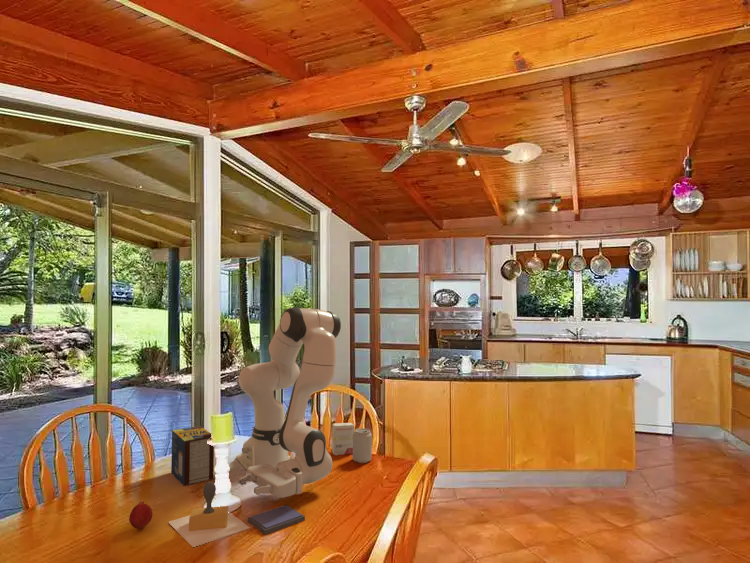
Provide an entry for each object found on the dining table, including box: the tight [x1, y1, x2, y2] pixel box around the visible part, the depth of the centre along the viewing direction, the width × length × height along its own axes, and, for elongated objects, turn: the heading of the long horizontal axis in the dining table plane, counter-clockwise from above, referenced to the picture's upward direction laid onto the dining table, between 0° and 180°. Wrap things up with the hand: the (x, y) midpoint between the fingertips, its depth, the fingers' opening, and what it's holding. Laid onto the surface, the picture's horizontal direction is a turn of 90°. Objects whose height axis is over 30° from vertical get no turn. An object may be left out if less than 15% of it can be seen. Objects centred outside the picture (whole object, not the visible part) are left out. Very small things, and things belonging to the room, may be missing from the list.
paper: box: [167, 512, 250, 548], centre depth 139 cm, size 18×16×1 cm
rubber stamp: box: [189, 481, 229, 531], centre depth 139 cm, size 10×6×12 cm, turn 104°
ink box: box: [331, 422, 355, 456], centre depth 202 cm, size 9×5×12 cm, turn 104°
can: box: [352, 427, 373, 464], centre depth 193 cm, size 8×8×12 cm
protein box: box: [170, 425, 215, 487], centre depth 175 cm, size 10×15×16 cm
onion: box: [128, 499, 154, 531], centre depth 136 cm, size 6×6×8 cm
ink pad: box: [247, 504, 306, 536], centre depth 142 cm, size 10×13×2 cm
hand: (247, 486), depth 147 cm, fingers open, 8 cm apart
